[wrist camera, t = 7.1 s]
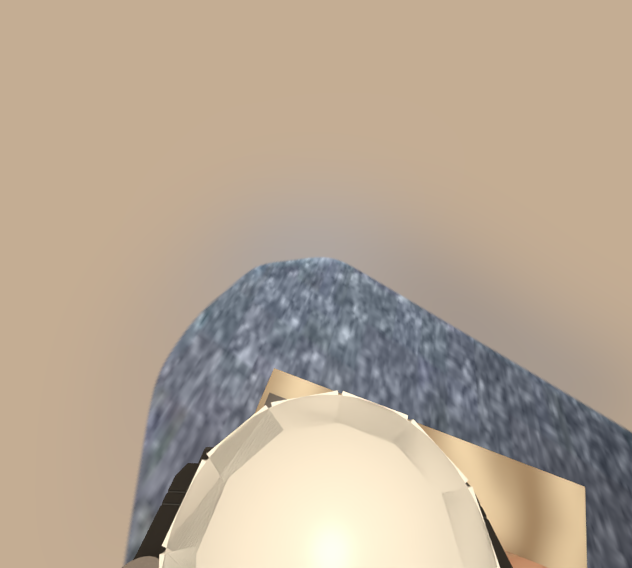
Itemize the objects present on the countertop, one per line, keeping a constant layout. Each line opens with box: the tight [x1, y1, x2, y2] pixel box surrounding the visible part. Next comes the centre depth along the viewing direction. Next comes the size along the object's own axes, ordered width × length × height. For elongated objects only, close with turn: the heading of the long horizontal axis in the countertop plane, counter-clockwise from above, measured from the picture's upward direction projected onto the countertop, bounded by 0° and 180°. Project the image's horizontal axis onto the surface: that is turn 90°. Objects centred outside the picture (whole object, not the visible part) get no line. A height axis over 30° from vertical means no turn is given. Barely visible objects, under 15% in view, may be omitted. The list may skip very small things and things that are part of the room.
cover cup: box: [159, 391, 500, 568], centre depth 10 cm, size 6×6×9 cm
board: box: [255, 368, 587, 568], centre depth 24 cm, size 25×15×2 cm, turn 70°
